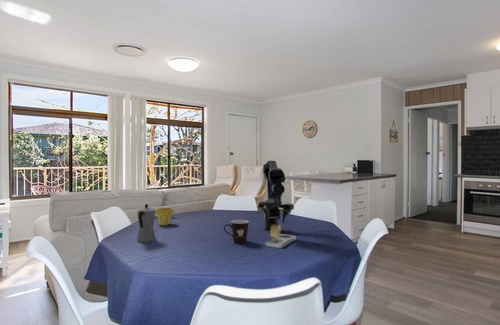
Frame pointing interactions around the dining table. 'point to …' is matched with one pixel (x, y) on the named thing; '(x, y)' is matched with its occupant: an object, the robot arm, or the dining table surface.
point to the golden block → (275, 230)
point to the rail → (280, 240)
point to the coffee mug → (239, 230)
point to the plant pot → (164, 215)
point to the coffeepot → (146, 224)
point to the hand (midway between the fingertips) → (275, 221)
